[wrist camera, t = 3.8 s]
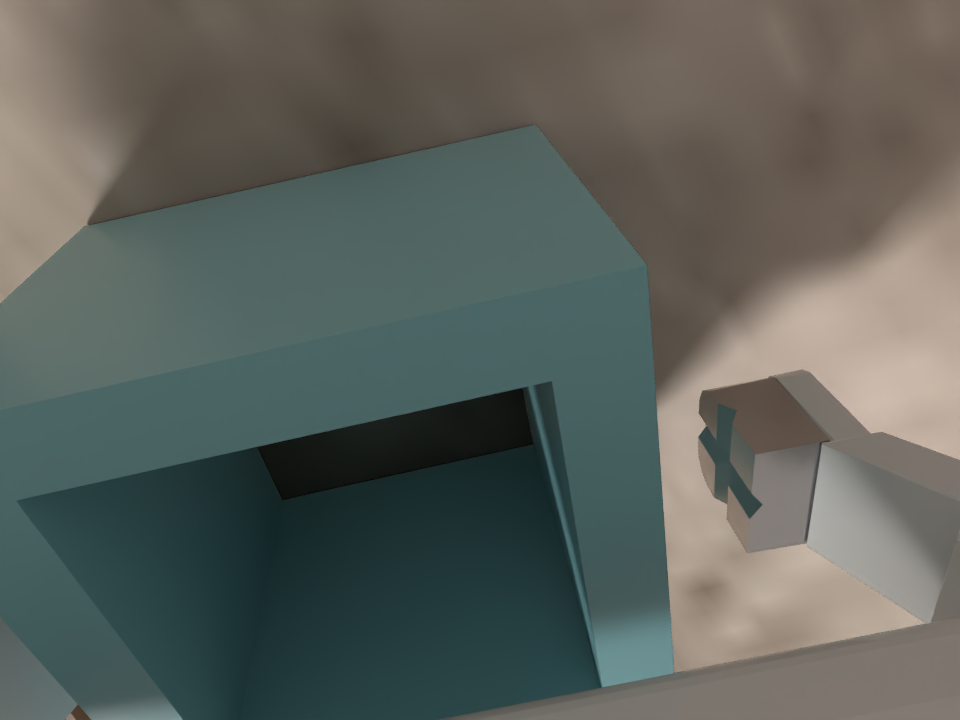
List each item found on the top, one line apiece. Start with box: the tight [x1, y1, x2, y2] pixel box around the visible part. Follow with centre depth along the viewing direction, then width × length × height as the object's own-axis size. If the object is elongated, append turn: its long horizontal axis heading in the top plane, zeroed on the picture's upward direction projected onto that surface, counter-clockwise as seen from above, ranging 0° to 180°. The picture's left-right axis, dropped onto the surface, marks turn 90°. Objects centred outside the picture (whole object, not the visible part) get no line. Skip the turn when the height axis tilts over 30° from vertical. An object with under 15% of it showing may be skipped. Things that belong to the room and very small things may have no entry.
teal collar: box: [0, 124, 674, 720], centre depth 9 cm, size 7×7×5 cm
